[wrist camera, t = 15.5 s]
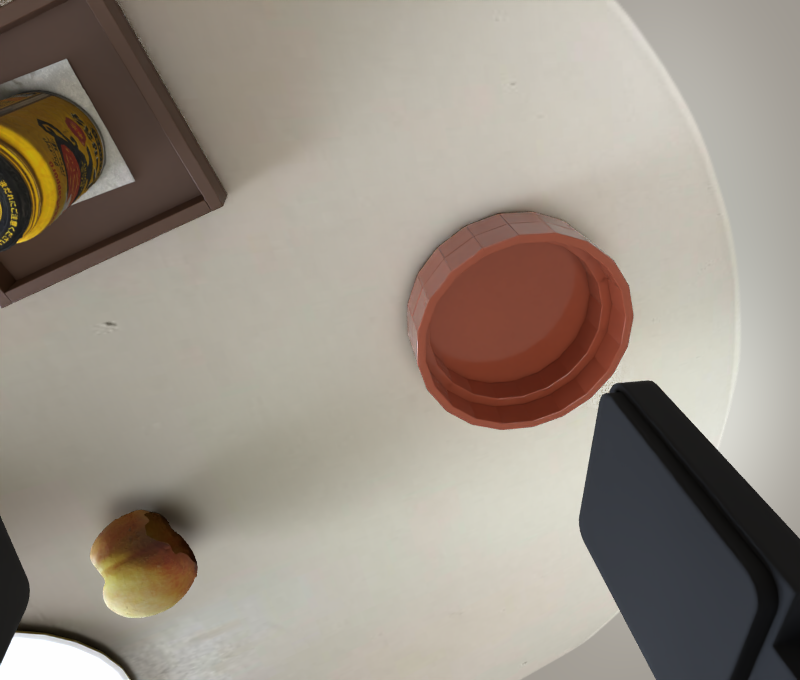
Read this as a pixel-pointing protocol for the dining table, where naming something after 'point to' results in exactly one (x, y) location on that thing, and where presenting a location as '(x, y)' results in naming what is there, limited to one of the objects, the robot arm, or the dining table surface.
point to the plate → (56, 660)
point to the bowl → (518, 320)
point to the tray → (129, 129)
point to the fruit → (143, 564)
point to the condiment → (50, 151)
